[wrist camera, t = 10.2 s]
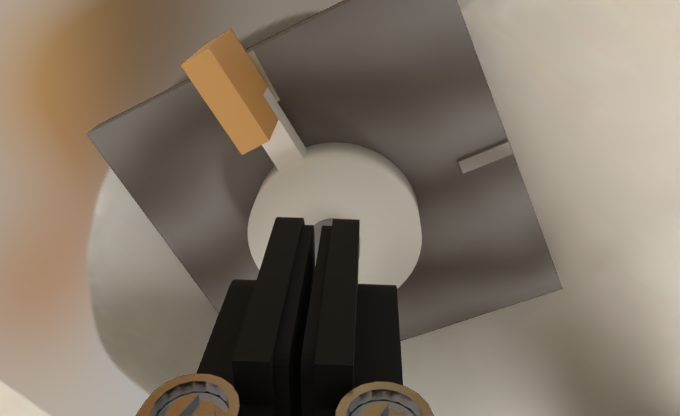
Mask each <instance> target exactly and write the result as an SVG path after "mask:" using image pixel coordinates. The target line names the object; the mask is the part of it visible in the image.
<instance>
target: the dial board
mask: <svg viewBox="0 0 680 416" xmlns="http://www.w3.org/2000/svg"><path fill="white" fill-rule="evenodd" d="M245 51H246V53H247V55H248V56H249V58H250V59H251V61H252V63H253V64H254V66H255V67H256V69H257V71H258V72H259V74H260V75H261V77H262V79H263V80H264V82H265V83H266V85H267V87H268V88H269V90H270V91H271V93H272V95H273V96H274V98H275V99H276V101H277V103H278V104H279V106H280V107H281V109H282V111H283V112H284V114H285V115H286V117H287V119H288V120H289V122H290V123H291V125H292V127H293V128H294V130H295V131H296V133H297V135H298V136H299V138H300V139H301V141H302V143H303V144H304V146H305V147H307V146H311V145H314V144H320V143H328V142H341V143H350V144H355V145H359V146H362V147H365V148H368V149H371V150H373V151H375V152H377V153H379V154H381V155H382V156H384V157H385V158H387V159H388V160H390V161H391V162H392V163H393V164H395V165H396V166H397V167H398V168H399V169H400V170H401V172H402V173H403V174H404V175H405V176H406V178H407V179H408V181H409V183H410V184H411V186H412V188H413V191H414V193H415V196H416V199H417V203H418V210H419V217H420V224H421V231H422V246H421V251H420V255H419V258H418V261H417V264H416V266H415V267H414V269H413V271H412V273H411V274H410V275H409V277H408V278H407V280H406V281H405V282H404V283H403V284H402V285H401V286H400V287H399V288H397V296H398V313H399V329H400V341H402V340H406V339H409V338H412V337H415V336H418V335H421V334H424V333H427V332H430V331H433V330H436V329H440V328H443V327H446V326H449V325H452V324H455V323H458V322H461V321H464V320H467V319H470V318H474V317H477V316H480V315H483V314H486V313H489V312H492V311H495V310H498V309H501V308H504V307H507V306H511V305H514V304H517V303H520V302H523V301H526V300H529V299H532V298H535V297H538V296H541V295H545V294H548V293H551V292H554V291H557V290H560V289H563V288H562V286H561V283H560V280H559V278H558V275H557V272H556V269H555V267H554V264H553V261H552V258H551V256H550V253H549V250H548V248H547V245H546V242H545V239H544V237H543V234H542V231H541V228H540V226H539V223H538V220H537V218H536V215H535V212H534V209H533V207H532V204H531V201H530V199H529V196H528V193H527V190H526V188H525V185H524V182H523V179H522V177H521V174H520V171H519V169H518V166H517V163H516V160H515V158H514V155H513V152H512V149H511V146H510V143H509V141H508V139H507V136H506V133H505V130H504V128H503V125H502V122H501V120H500V117H499V114H498V111H497V109H496V106H495V103H494V100H493V98H492V95H491V92H490V90H489V87H488V84H487V81H486V79H485V76H484V73H483V70H482V68H481V65H480V62H479V60H478V57H477V54H476V51H475V49H474V46H473V43H472V41H471V38H470V35H469V32H468V30H467V27H466V24H465V21H464V19H463V16H462V13H461V11H460V8H459V5H458V2H457V0H343V1H342V2H339V3H337V4H336V5H333V6H331V7H330V8H328V9H326V10H324V11H322V12H320V13H318V14H316V15H314V16H312V17H310V18H308V19H306V20H304V21H302V22H300V23H298V24H296V25H294V26H292V27H290V28H288V29H286V30H284V31H282V32H280V33H278V34H276V35H274V36H272V37H270V38H268V39H266V40H264V41H262V42H261V43H259V44H257V45H255V46H253V47H251V48H249V49H247V50H245ZM87 136H88V137H89V139H90V140H91V141H92V143H93V144H94V145H95V147H96V148H97V150H98V151H99V152H100V154H101V155H102V156H103V158H104V159H105V160H106V162H107V163H108V164H109V166H110V167H111V168H112V170H113V171H114V173H115V174H116V175H117V177H118V178H119V179H120V181H121V182H122V183H123V185H124V186H125V187H126V189H127V190H128V191H129V193H130V194H131V196H132V197H133V198H134V200H135V201H136V202H137V204H138V205H139V206H140V208H141V209H142V210H143V212H144V213H145V214H146V216H147V217H148V218H149V220H150V221H151V223H152V224H153V225H154V227H155V228H156V229H157V231H158V232H159V233H160V235H161V236H162V237H163V239H164V240H165V241H166V243H167V244H168V246H169V247H170V248H171V250H172V251H173V252H174V254H175V255H176V256H177V258H178V259H179V260H180V262H181V263H182V264H183V266H184V267H185V268H186V270H187V271H188V273H189V274H190V275H191V277H192V278H193V279H194V281H195V282H196V283H197V285H198V286H199V287H200V289H201V290H202V291H203V293H204V294H205V296H206V297H207V298H208V300H209V301H210V302H211V304H212V305H213V306H214V308H215V309H216V310H217V312H218V313H219V312H220V310H221V307H222V304H223V302H224V299H225V296H226V294H227V291H228V288H229V286H230V284H231V282H232V281H233V280H234V279H242V280H257V277H258V274H259V269H258V267H257V265H256V264H255V261H254V259H253V257H252V255H251V251H250V248H249V243H248V222H249V217H250V213H251V210H252V207H253V205H254V202H255V200H256V197H257V195H258V192H259V190H260V187H261V185H262V183H263V181H264V179H265V178H266V176H267V175H268V173H269V172H270V171H271V169H272V168H273V167H274V166H275V164H274V163H273V161H272V160H271V158H270V157H269V155H268V154H267V152H266V151H265V149H264V148H263V146H262V145H260V146H259V147H257V148H255V149H253V150H251V151H249V152H247V153H245V154H243V155H242V154H241V153H240V151H239V150H238V149H237V147H236V146H235V144H234V143H233V141H232V140H231V138H230V137H229V135H228V134H227V133H226V131H225V130H224V128H223V127H222V125H221V124H220V122H219V121H218V119H217V118H216V117H215V115H214V114H213V112H212V111H211V109H210V108H209V106H208V105H207V103H206V102H205V101H204V99H203V98H202V96H201V95H200V93H199V92H198V90H197V89H196V87H195V86H194V85H193V83H192V82H191V80H190V79H188V80H186V81H184V82H182V83H180V84H178V85H176V86H174V87H172V88H170V89H168V90H166V91H164V92H162V93H160V94H158V95H156V96H154V97H152V98H150V99H148V100H146V101H144V102H142V103H140V104H138V105H136V106H134V107H133V108H130V109H128V110H126V111H124V112H122V113H121V114H119V115H117V116H115V117H113V118H111V119H109V120H107V121H105V122H103V123H101V124H99V125H97V126H96V127H95V128H93V129H92V130H91V131H90V132H89V133H87Z"/></svg>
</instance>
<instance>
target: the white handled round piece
mask: <svg viewBox="0 0 680 416" xmlns="http://www.w3.org/2000/svg"><path fill="white" fill-rule="evenodd" d="M181 67H182V68H183V70H184V71H185V73H186V74H187V76H188V77H189V79H190V80H191V82H192V83H193V85H194V86H195V87H196V89H197V90H198V92H199V93H200V95H201V96H202V98H203V99H204V101H205V102H206V103H207V105H208V106H209V108H210V109H211V111H212V112H213V114H214V115H215V117H216V118H217V119H218V121H219V122H220V124H221V125H222V127H223V128H224V130H225V131H226V133H227V134H228V135H229V137H230V138H231V140H232V141H233V143H234V144H235V146H236V147H237V149H238V150H239V151H240V153H241V154H242V155H243V154H245V153H247V152H249V151H251V150H253V149H255V148H257V147H259V146H260V145H262V146H263V148H264V149H265V151H266V152H267V154H268V155H269V157H270V158H271V160H272V161H273V163H274V164H275V166H274V167H273V168H272V169H271V171H270V172H269V173H268V175H267V176H266V178H265V179H264V181H263V183H262V185H261V187H260V190H259V192H258V195H257V197H256V200H255V202H254V205H253V207H252V210H251V213H250V217H249V222H248V243H249V248H250V251H251V255H252V257H253V259H254V261H255V264H256V265H257V267H258V269H259V270H260V267H261V264H262V261H263V257H264V254H265V251H266V248H267V244H268V241H269V238H270V235H271V232H272V228H273V225H274V222H275V219H276V217H295V218H304V222H305V225H314V231H315V266H316V260H317V253H318V247H319V241H320V234H321V228H322V225H323V226H332V221H333V219H358V220H360V230H359V268H358V284H379V285H396V286H397V288H399V287H400V286H401V285H402V284H403V283H404V282H405V281H406V280H407V278H408V277H409V275H410V274H411V273H412V271H413V269H414V267H415V266H416V264H417V261H418V258H419V255H420V251H421V246H422V231H421V224H420V217H419V210H418V203H417V199H416V196H415V193H414V191H413V188H412V186H411V184H410V183H409V181H408V179H407V178H406V176H405V175H404V174H403V173H402V172H401V170H400V169H399V168H398V167H397V166H396V165H395V164H393V163H392V162H391V161H390V160H388V159H387V158H385V157H384V156H382V155H381V154H379V153H377V152H375V151H373V150H371V149H368V148H365V147H362V146H359V145H355V144H350V143H341V142H328V143H320V144H314V145H311V146H307V147H305V146H304V144H303V143H302V141H301V139H300V138H299V136H298V135H297V133H296V131H295V130H294V128H293V127H292V125H291V123H290V122H289V120H288V119H287V117H286V115H285V114H284V112H283V111H282V109H281V107H280V106H279V104H278V103H277V101H276V99H275V98H274V96H273V95H272V93H271V91H270V90H269V88H268V87H267V85H266V83H265V82H264V80H263V79H262V77H261V75H260V74H259V72H258V71H257V69H256V67H255V66H254V64H253V63H252V61H251V59H250V58H249V56H248V55H247V53H246V51H245V50H244V48H243V47H242V45H241V43H240V42H239V40H238V39H237V37H236V36H235V34H234V32H233V31H232V29H229V30H227V31H226V32H224V33H222V34H221V35H219V36H217V37H216V38H214V39H212V40H211V41H209V42H207V43H206V44H205V45H203V46H202V47H201V48H200V49H199V50H198V51H197V52H195V53H194V54H193V55H192V56H191V57H190V58H188V59H187V60H186V61H185V62H184V63H183V64H181Z"/></svg>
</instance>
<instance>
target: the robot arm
mask: <svg viewBox="0 0 680 416" xmlns="http://www.w3.org/2000/svg"><path fill="white" fill-rule="evenodd" d="M359 230H360V220H358V219H333V221H332V226H323V225H322V228H321V234H320V241H319V247H318V253H317V260H316V266H315V231H314V225H305V222H304V218H295V217H276V219H275V222H274V225H273V228H272V232H271V235H270V238H269V241H268V244H267V248H266V251H265V254H264V257H263V261H262V264H261V267H260V270H259V274H258V277H257V280H242V279H234V280H233V281H232V282H231V284H230V286H229V288H228V291H227V294H226V296H225V299H224V302H223V304H222V307H221V310H220V312H219V315H218V318H217V320H216V323H215V326H214V328H213V331H212V334H211V336H210V339H209V342H208V344H207V347H206V350H205V352H204V355H203V358H202V360H201V363H200V366H199V368H198V371H197V374H190V375H185V376H180V377H178V378H176V379H173V380H171V381H168V382H166V383H165V384H163V385H162V386H161V387H159V388H158V389H156V390H155V391H154V392H153V393H152V394H151V395H150V396H149V397H148V399H147V400H146V401H145V402H144V404H143V405H142V407H141V408H140V410H139V411H138V413H137V414H136V416H434V415H433V413H432V411H431V409H430V407H429V405H428V403H427V402H426V401H425V400H424V399H423V398H422V397H421V396H420V395H419V394H418V393H416V392H414V391H413V390H411V389H409V388H408V387H406V386H403V379H402V362H401V346H400V329H399V313H398V296H397V286H396V285H379V284H358V268H359Z"/></svg>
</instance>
